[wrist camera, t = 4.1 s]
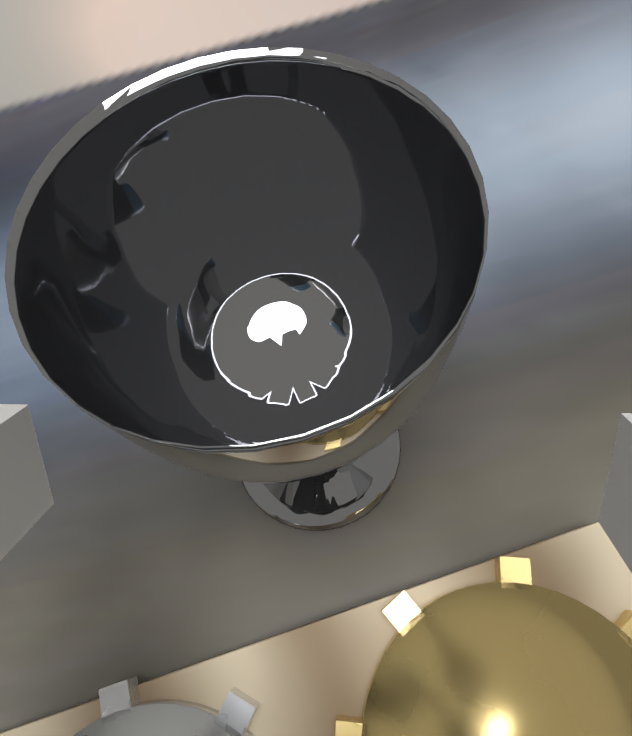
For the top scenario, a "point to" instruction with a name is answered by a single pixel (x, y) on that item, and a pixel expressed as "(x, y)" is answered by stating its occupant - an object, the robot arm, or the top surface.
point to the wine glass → (255, 270)
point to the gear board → (414, 662)
